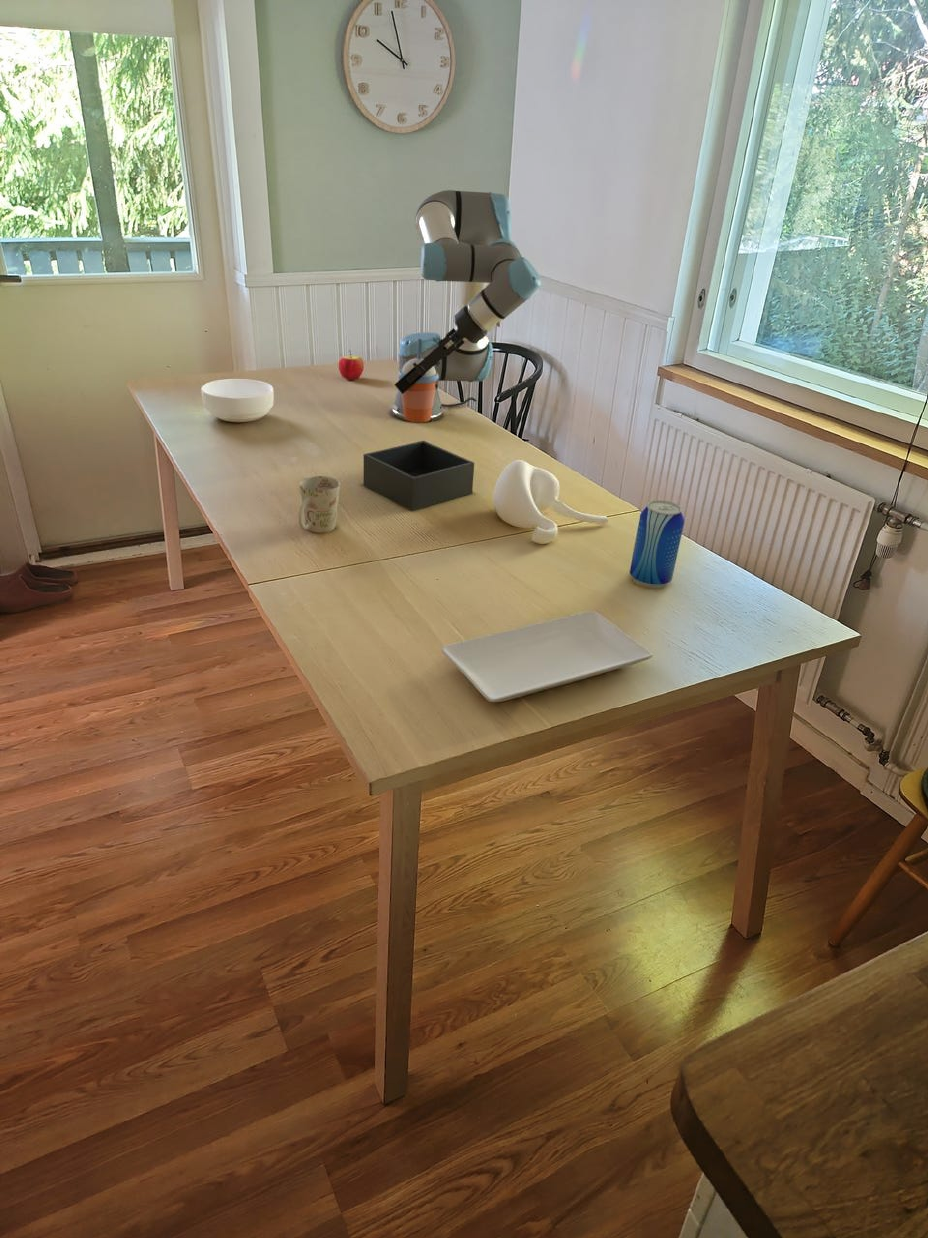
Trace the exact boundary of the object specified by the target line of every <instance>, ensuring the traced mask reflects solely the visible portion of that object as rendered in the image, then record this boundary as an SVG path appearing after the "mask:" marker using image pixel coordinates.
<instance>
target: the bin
mask: <svg viewBox="0 0 928 1238" xmlns="http://www.w3.org/2000/svg"><path fill="white" fill-rule="evenodd" d="M474 474H475V462H473V460H472V461H471V460H470V459H467V458H464V457H462V456H460V455H458V454H455V453H453V452H451V451H449V450H447V449H444V448H441V447H439V446H437V445H434V444H433V443H430V442H428V441H426V440H419V441H415V442H411V443H406V444H403V445H398V446H394V447H393V446H392V447H389V448H385V449H381V450H376V451H372V452H367V453H364V454H363V486H365V487H366V488H367V489H370V490H372V491H374V492H376V493H377V494H379V495H381V496H383V497H385V498H387V499H389V500H391V501H392V502H395V503H397V504H398V505H400V506H402V507H404V508H406V509H408V510H410V511H417V510H420V509H424V508H427V507H430V506H435V505H439V504H440V503H444V502H448V501H452V500H454V499H458V498H462V497H465V496H468V495H469V496H470V495H472V494H473V486H474Z"/></svg>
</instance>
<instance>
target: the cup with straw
mask: <svg viewBox="0 0 928 1238" xmlns="http://www.w3.org/2000/svg"><path fill="white" fill-rule="evenodd" d="M421 351H422V339H418V353H417V358H414V359H411V360H409V361H408V362H406V363H405V365H404V366H403V368H402V370H400V372H399V371H398V379H399V378H400V379H401V378H402V377H404V376H405V375H406V374H407V373H408V372H409V371H410V370H411V369H412V368H414V366H413V364H414V363H416V364H419V363H420V362H421V361H422V360H424V359H422V358H421ZM421 367H422V366H421ZM422 368H423V367H422ZM423 369H424V368H423ZM438 378H439V375H438V373H437V372H436V371H435V368H434V366H433V367H432V368H431V369H430V370H428V371H427V372H426V374H425V375H424V376H423V377H421V378H420V379H419V380H418V381H417V382H416V383H415V384H413V385H412V386H411V387H410V388H409V389H408V390H407V391H406V392H404V393H403V394H402V405H403V409H404V418H405V419H406V420H407V421H406V420H405V421H406V422H411V423H428V422H430V421H429V420H430V419H431V412H432V407H433V403H434V395H435V388H436V387H435V382H436V381H437V380H438ZM427 421H428V422H427Z"/></svg>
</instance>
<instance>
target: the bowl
mask: <svg viewBox="0 0 928 1238" xmlns="http://www.w3.org/2000/svg"><path fill="white" fill-rule="evenodd" d="M200 392H201V399H202V404H203V407H204V408H205V409H206V410H207V411H208V412H209V413H210V414H211V415H213V416H214V417H216V418H218V419H220V420H221V421H225V422H232V423H246V422H247V423H248V422H253V421H256V420H259V419H261V418H263V417H264V416H265V415H267V414H268V413H269V411H270V410H271V409H272V408H273V407H274V401H275V400H274V399H275V397H274V396H275V394H274V387H273V386H272V385H271V384H270V383H268V382H265V381H260V380H256V379H248V378H227V379H226V378H225V379H217V380H213V381H209V382H207V383H205V384H203V385H202V386H201V387H200Z"/></svg>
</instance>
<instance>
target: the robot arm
mask: <svg viewBox="0 0 928 1238" xmlns="http://www.w3.org/2000/svg"><path fill="white" fill-rule="evenodd" d="M414 225H415V230H416V231H417V234H418V236H419V237H420V238H421V239H422V240H423V242H424V243H423V244H422V247H421V253H420V270H421V271H420V273H421V277H422V278H423V280H427V281H435V282H454V283H455V282H459V287H458V295H457V304H456V314H454V316H453V322H454V327H453V328H452V329H451V330H450V331H448V332H447V333H446V334H445V336H444V337H443V338H441V335H440V334H439V333H436V332H428V331H427V332H426V331H425V332H424V331H423V332H416V333H410V334H409V335H406V336H404V337H402V338H401V339H400V342H399V352H398V358H399V360H398V373H399V372H400V370H402V368H403V366H404V365H405V363H406V362H408V361H409V360H411V359H414V358H417V353H418V339H422V351H421V358H422V359H424V360H422V361H421V362H420V363H419V364H416V363H414V364H413V366H414V368H412V369H411V370H410V371H409V372H408V373H407V374H406V375H405V376H404V377H402V378H401V379H400V378H399V377H398V381H397V382H396V383H395V384H394V386H395V387H396V388H397V391H396V395H395V398H394V402H393V403H392V405H391V414H392V416H393V417H395V418H396V419H399V420H402V421H406V422H408V421H407V420H406V419H405V418H404V409H403V405H402V394H403V393H404V392H406V391H407V390H408V389H409V388H410V387H411V386H412V385H413V384H415V383H416V382H417V381H418V380H419V379H420V378H421V377H423V376H424V375H425V374H426V372H427V371H428V370H430V369H431V368H432V367H433V366H434V368H435V371H436V372H437V373H438V375H439V378H438V380H437V381H436V382H435V387H436V388H435V395H434V403H433V407H432V412H431V419H430V420H429V421H427V422H426V423H428V422H435V421H437V420H440V419H441V418H442V417H443V412H444V411H443V408H453V407H458V406H462V405H464V404H467V403H468V402H470V401H473V402H477V399H476V398H474V397H468V398H467V399H465V400H464V401H461V402H457V403H452V404H451V403H450V404H445V403H442V402H441V398H440V394H439V390H438V389H439V382H468V383H475V382H476V383H477V382H483V381H485V380H486V379H487V378H488V376H489V373H490V372H491V367H492V363H493V353H494V349H493V343H492V342H491V341H490V340H489V339H490V338H489V336H488V333H489V332H491V331H492V330H493V329H494V328H496V327H498V328H500V327H501V326H502V323H501V322H503V320H505V319H506V318H507V317H509V316H510V315H511V314H512V313H514V311H516V310H517V309H518V308H519V307H520V306H522V305H523V304H524V303H525V302H526V301H528V300H530V298H531V297H532V296H533V294H534V293H535V292H537V290H539V289H540V288H541V285H542V278H541V276H540V275H539V273H538V271H537V269H536V268H535V266H534V265H533V264H532V263H531V262H530V261H529V260H528V259H526V257H523V256H522V254H521V251H520V250H519V248H518V246H517V245H516V243H514V242H513V241H512V240H511V238H512V218H511V207H510V201H509V199H508V197H507V195H505V194H503V193H495V192H493V191H489V192H485V191H484V192H483V191H466V190H455V189H447V190H441V191H438V192H436V193H433V194H431V195H430V196H428V197H427V198H425V199H424V200H423V201H422V202H421V203H420V204H419V206H418V208H417V210H416V212H415V216H414ZM421 366H422V367H423V368H424V369H423V368H422V367H421Z"/></svg>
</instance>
